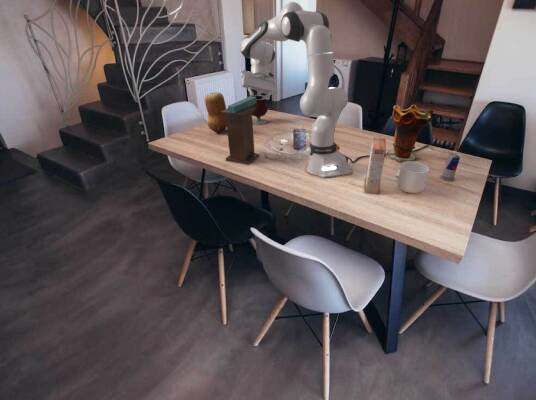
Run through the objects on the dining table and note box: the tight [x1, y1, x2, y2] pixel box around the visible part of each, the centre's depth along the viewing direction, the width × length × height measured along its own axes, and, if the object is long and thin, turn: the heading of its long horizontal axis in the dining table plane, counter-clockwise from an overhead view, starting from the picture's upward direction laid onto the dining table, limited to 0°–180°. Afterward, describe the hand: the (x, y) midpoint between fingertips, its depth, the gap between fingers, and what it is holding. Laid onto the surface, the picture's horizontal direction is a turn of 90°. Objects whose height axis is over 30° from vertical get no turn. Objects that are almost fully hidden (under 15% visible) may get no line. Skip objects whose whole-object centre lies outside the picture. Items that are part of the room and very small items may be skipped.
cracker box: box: [365, 137, 387, 194], centre depth 136 cm, size 14×6×21 cm, turn 168°
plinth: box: [220, 107, 260, 165], centre depth 158 cm, size 14×13×26 cm
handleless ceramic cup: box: [396, 160, 430, 194], centre depth 137 cm, size 12×12×11 cm
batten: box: [227, 95, 256, 113], centre depth 154 cm, size 22×4×3 cm, turn 160°
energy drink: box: [441, 152, 461, 181], centre depth 148 cm, size 5×5×12 cm
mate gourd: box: [248, 93, 269, 126], centre depth 216 cm, size 16×14×20 cm
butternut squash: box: [204, 91, 227, 134], centre depth 193 cm, size 14×13×25 cm
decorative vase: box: [386, 104, 434, 162], centre depth 166 cm, size 21×23×28 cm
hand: (259, 97), depth 168 cm, fingers open, 8 cm apart
